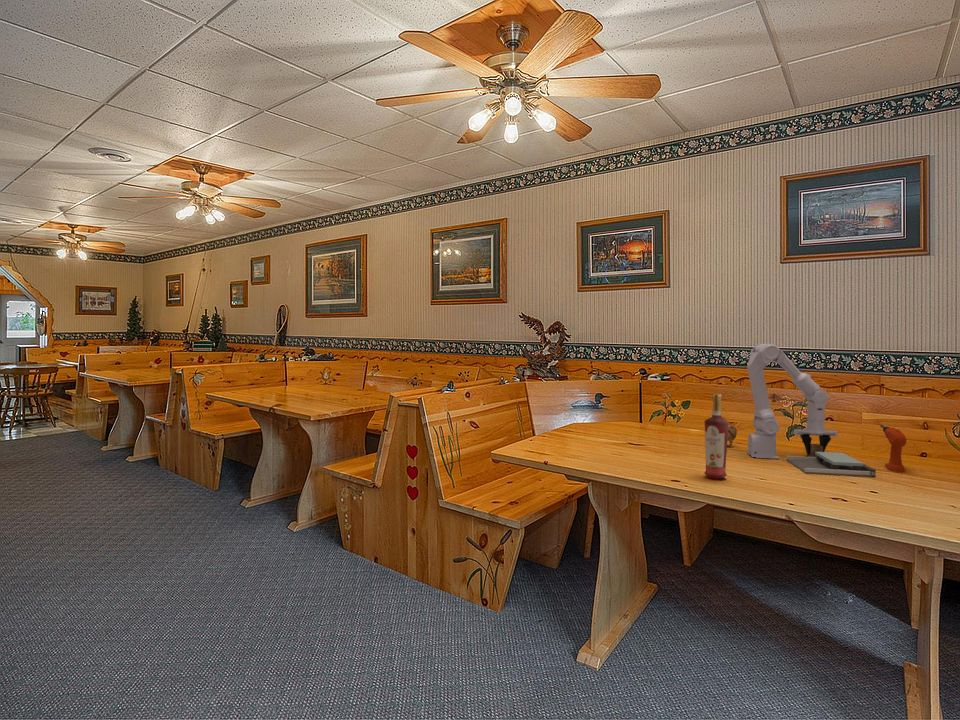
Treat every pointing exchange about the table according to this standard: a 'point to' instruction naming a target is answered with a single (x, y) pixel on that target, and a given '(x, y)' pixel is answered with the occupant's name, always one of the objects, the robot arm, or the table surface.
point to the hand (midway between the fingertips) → (814, 454)
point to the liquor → (716, 442)
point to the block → (815, 450)
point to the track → (828, 467)
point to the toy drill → (895, 448)
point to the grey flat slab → (839, 460)
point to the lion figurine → (731, 434)
